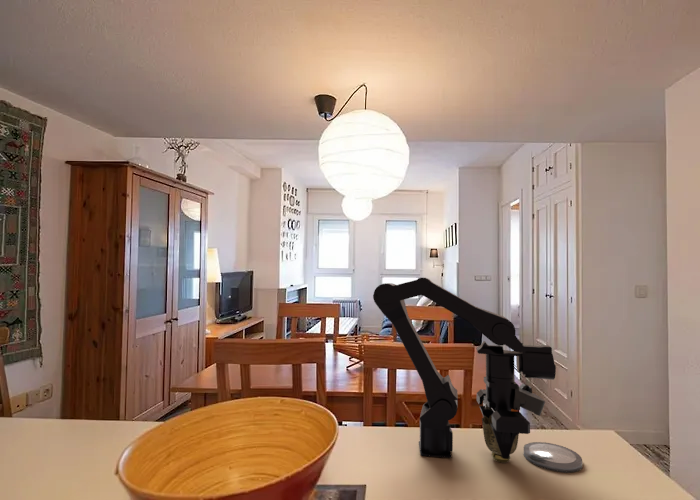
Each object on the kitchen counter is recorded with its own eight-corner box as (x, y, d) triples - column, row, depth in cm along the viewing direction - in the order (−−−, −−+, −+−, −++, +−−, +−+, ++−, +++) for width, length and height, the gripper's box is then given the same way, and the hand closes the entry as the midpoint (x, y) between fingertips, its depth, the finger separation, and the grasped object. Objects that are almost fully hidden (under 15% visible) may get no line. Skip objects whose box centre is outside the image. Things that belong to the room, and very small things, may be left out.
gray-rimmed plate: (534, 470, 76) (534, 463, 76) (516, 445, 87) (516, 440, 87) (593, 474, 74) (592, 467, 74) (567, 449, 85) (567, 443, 85)
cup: (524, 470, 75) (523, 429, 76) (485, 466, 77) (484, 425, 77) (515, 453, 83) (515, 416, 83) (480, 450, 84) (479, 413, 85)
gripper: (558, 390, 71) (560, 477, 70) (524, 366, 89) (525, 435, 88) (496, 387, 72) (497, 472, 71) (475, 364, 91) (476, 432, 90)
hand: (500, 450), depth 80 cm, fingers closed on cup, 6 cm apart
